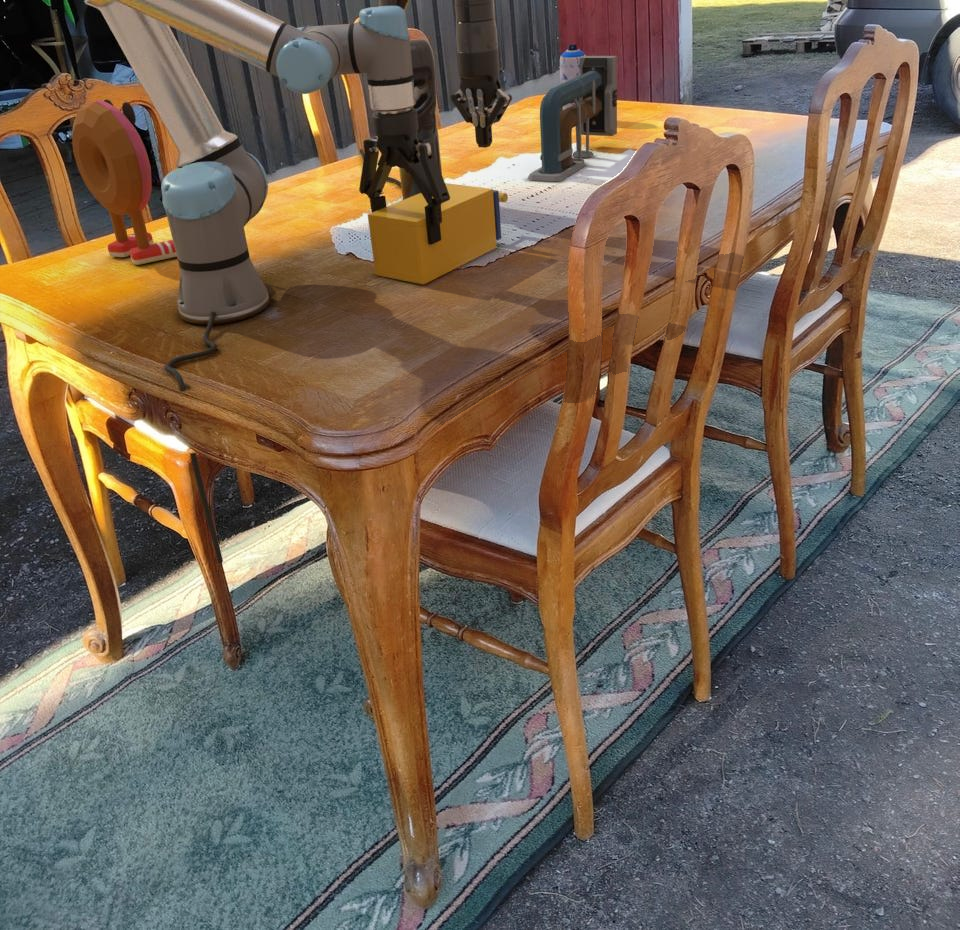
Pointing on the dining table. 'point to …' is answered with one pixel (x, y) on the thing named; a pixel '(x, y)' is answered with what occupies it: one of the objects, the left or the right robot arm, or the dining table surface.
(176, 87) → the left robot arm
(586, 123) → the clamp
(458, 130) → the dining table surface
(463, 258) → the yellow rectangular block
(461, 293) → the dining table surface
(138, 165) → the toy
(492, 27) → the right robot arm
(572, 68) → the aerosol can
